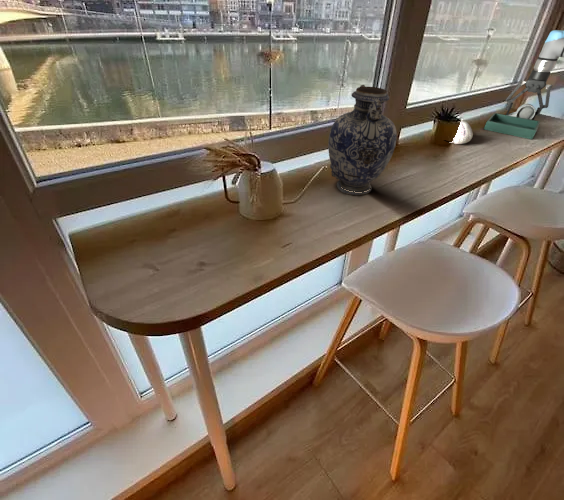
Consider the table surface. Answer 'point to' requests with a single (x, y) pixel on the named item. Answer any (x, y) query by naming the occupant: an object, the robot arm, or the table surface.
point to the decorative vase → (361, 142)
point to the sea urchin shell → (463, 133)
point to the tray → (512, 125)
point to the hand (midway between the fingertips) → (518, 119)
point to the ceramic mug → (524, 112)
